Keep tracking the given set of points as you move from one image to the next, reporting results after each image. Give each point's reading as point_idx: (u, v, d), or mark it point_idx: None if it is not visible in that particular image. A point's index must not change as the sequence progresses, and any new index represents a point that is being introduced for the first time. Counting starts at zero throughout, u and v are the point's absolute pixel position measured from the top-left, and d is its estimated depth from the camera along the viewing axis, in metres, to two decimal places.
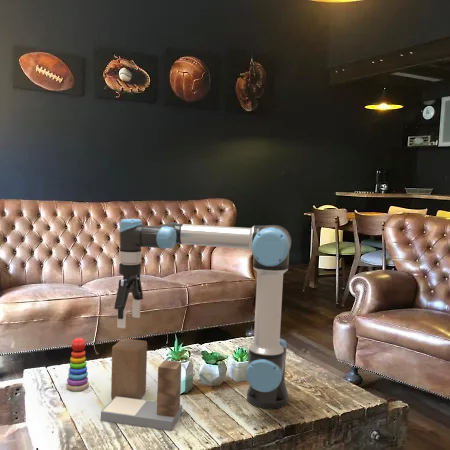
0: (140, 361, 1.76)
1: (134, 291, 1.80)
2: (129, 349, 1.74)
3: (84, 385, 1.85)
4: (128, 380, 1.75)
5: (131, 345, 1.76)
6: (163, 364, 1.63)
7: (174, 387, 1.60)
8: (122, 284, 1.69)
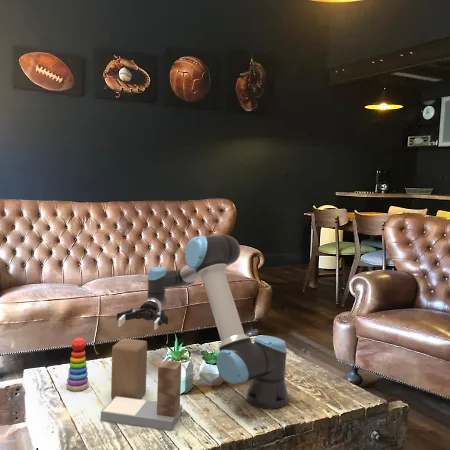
0: (140, 361, 1.76)
1: (154, 317, 1.96)
2: (129, 349, 1.74)
3: (84, 385, 1.85)
4: (128, 380, 1.75)
5: (131, 345, 1.76)
6: (163, 364, 1.63)
7: (174, 387, 1.60)
8: None
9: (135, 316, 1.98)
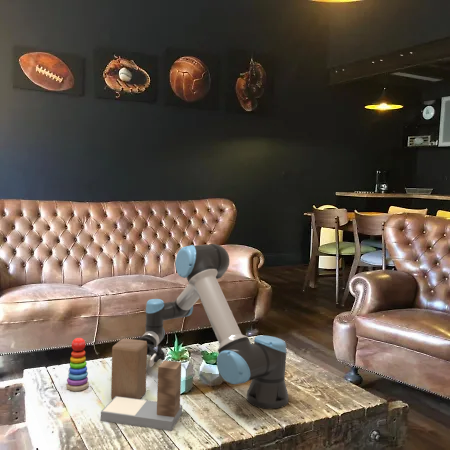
0: (140, 361, 1.76)
1: (151, 352, 1.95)
2: (129, 349, 1.74)
3: (84, 385, 1.85)
4: (128, 380, 1.75)
5: (131, 345, 1.76)
6: (163, 364, 1.63)
7: (174, 387, 1.60)
8: None
9: None
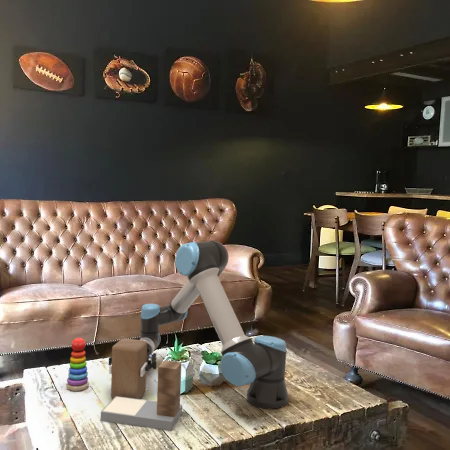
0: (140, 361, 1.76)
1: None
2: (129, 349, 1.74)
3: (84, 385, 1.85)
4: (128, 380, 1.75)
5: (131, 345, 1.76)
6: (163, 364, 1.63)
7: (174, 387, 1.60)
8: None
9: None
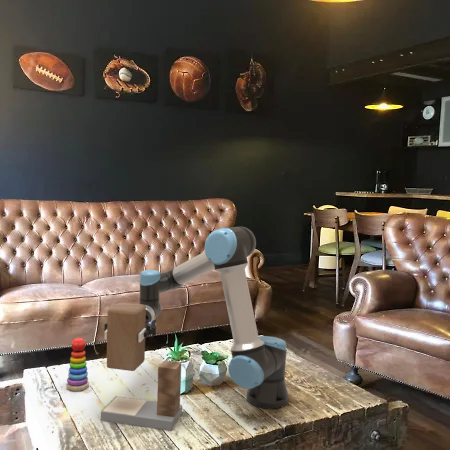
0: (138, 326, 1.62)
1: None
2: (126, 312, 1.60)
3: (84, 385, 1.85)
4: (125, 346, 1.61)
5: (128, 308, 1.62)
6: (163, 364, 1.63)
7: (174, 387, 1.60)
8: None
9: None
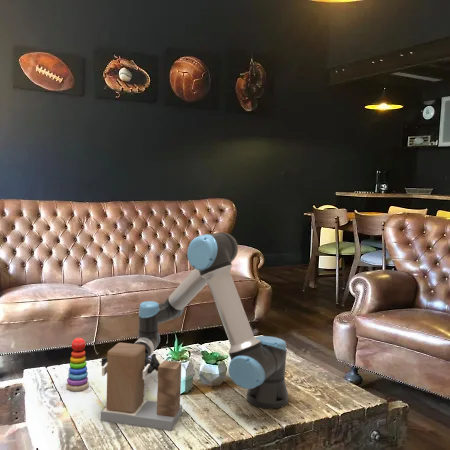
0: (138, 367, 1.63)
1: None
2: (126, 354, 1.60)
3: (84, 385, 1.85)
4: (125, 388, 1.61)
5: (128, 350, 1.62)
6: (163, 364, 1.63)
7: (174, 387, 1.60)
8: None
9: None
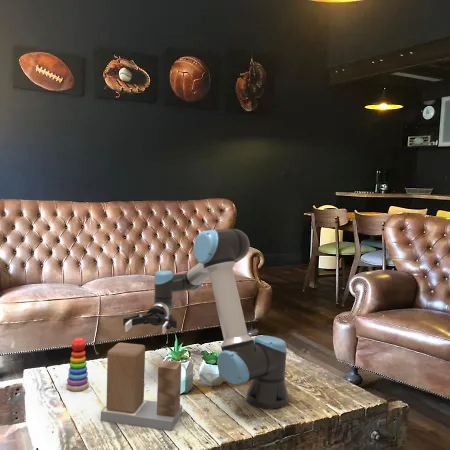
0: (138, 367, 1.63)
1: (162, 321, 1.89)
2: (126, 354, 1.60)
3: (84, 385, 1.85)
4: (125, 388, 1.61)
5: (128, 350, 1.62)
6: (163, 364, 1.63)
7: (174, 387, 1.60)
8: None
9: (142, 321, 1.90)
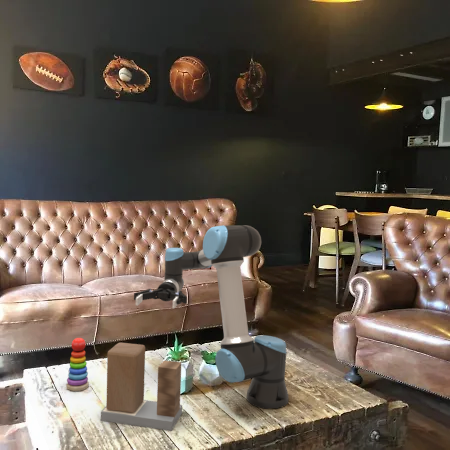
0: (138, 367, 1.63)
1: (172, 296, 1.91)
2: (126, 354, 1.60)
3: (84, 385, 1.85)
4: (125, 388, 1.61)
5: (128, 350, 1.62)
6: (163, 364, 1.63)
7: (174, 387, 1.60)
8: None
9: (152, 296, 1.92)
